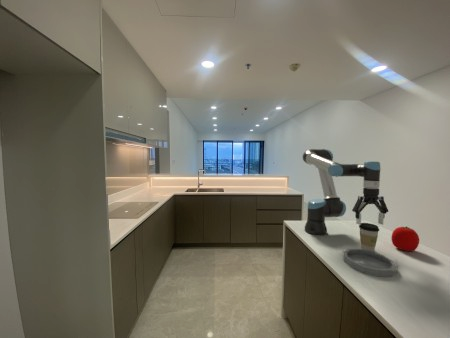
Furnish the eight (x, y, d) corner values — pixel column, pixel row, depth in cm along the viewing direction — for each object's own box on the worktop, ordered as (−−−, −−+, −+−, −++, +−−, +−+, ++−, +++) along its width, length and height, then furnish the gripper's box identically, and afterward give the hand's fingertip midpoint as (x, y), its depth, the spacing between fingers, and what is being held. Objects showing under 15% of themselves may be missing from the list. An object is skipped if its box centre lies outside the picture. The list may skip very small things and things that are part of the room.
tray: (335, 254, 112) (335, 249, 111) (371, 253, 113) (371, 248, 113) (363, 277, 90) (364, 270, 90) (408, 276, 92) (408, 269, 91)
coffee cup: (381, 254, 111) (383, 228, 111) (362, 253, 113) (363, 227, 112) (372, 247, 121) (374, 223, 120) (354, 245, 123) (356, 221, 122)
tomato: (394, 251, 116) (395, 227, 115) (388, 243, 126) (389, 221, 125) (422, 256, 111) (424, 231, 110) (414, 247, 121) (415, 225, 120)
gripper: (355, 188, 110) (353, 226, 111) (397, 188, 112) (395, 225, 113) (346, 187, 118) (344, 222, 119) (386, 187, 119) (384, 221, 120)
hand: (369, 224), depth 116 cm, fingers open, 13 cm apart
